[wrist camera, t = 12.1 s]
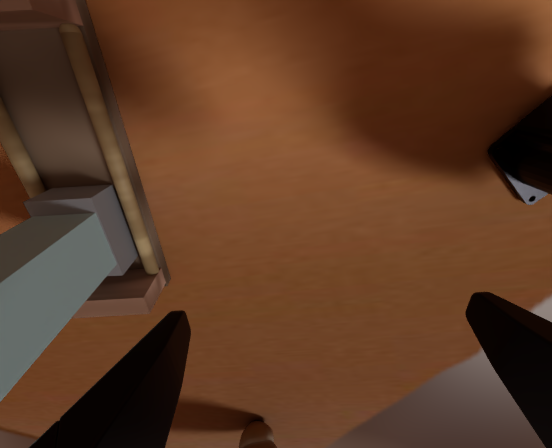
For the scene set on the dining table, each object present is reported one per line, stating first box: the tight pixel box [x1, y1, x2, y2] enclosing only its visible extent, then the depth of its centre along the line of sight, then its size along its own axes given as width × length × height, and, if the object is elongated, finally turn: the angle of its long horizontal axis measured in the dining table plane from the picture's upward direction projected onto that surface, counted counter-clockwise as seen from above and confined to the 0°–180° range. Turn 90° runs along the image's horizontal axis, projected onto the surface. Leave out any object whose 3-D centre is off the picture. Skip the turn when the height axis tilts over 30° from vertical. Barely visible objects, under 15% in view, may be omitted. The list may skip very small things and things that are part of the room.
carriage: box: [0, 184, 138, 402], centre depth 14 cm, size 6×4×14 cm
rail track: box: [0, 0, 171, 318], centre depth 17 cm, size 20×7×4 cm, turn 3°
